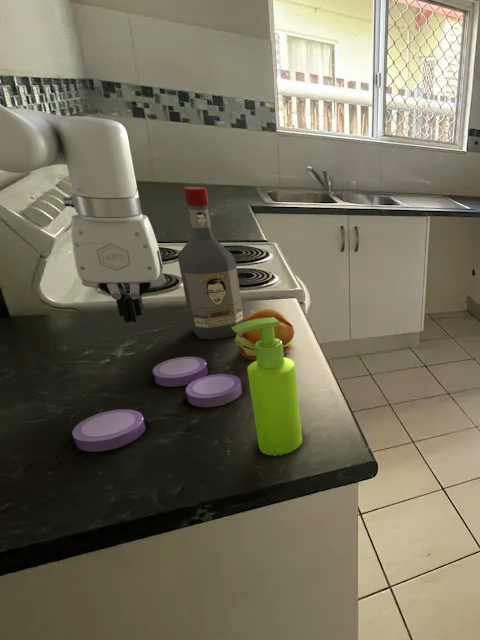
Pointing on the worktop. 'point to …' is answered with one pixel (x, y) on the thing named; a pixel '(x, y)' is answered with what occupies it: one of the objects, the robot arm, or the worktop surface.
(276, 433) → the soap dispenser
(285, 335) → the cheeseburger
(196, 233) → the liquor
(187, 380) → the dish
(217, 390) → the middle dish
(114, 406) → the worktop surface
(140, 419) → the dish
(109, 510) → the worktop surface
